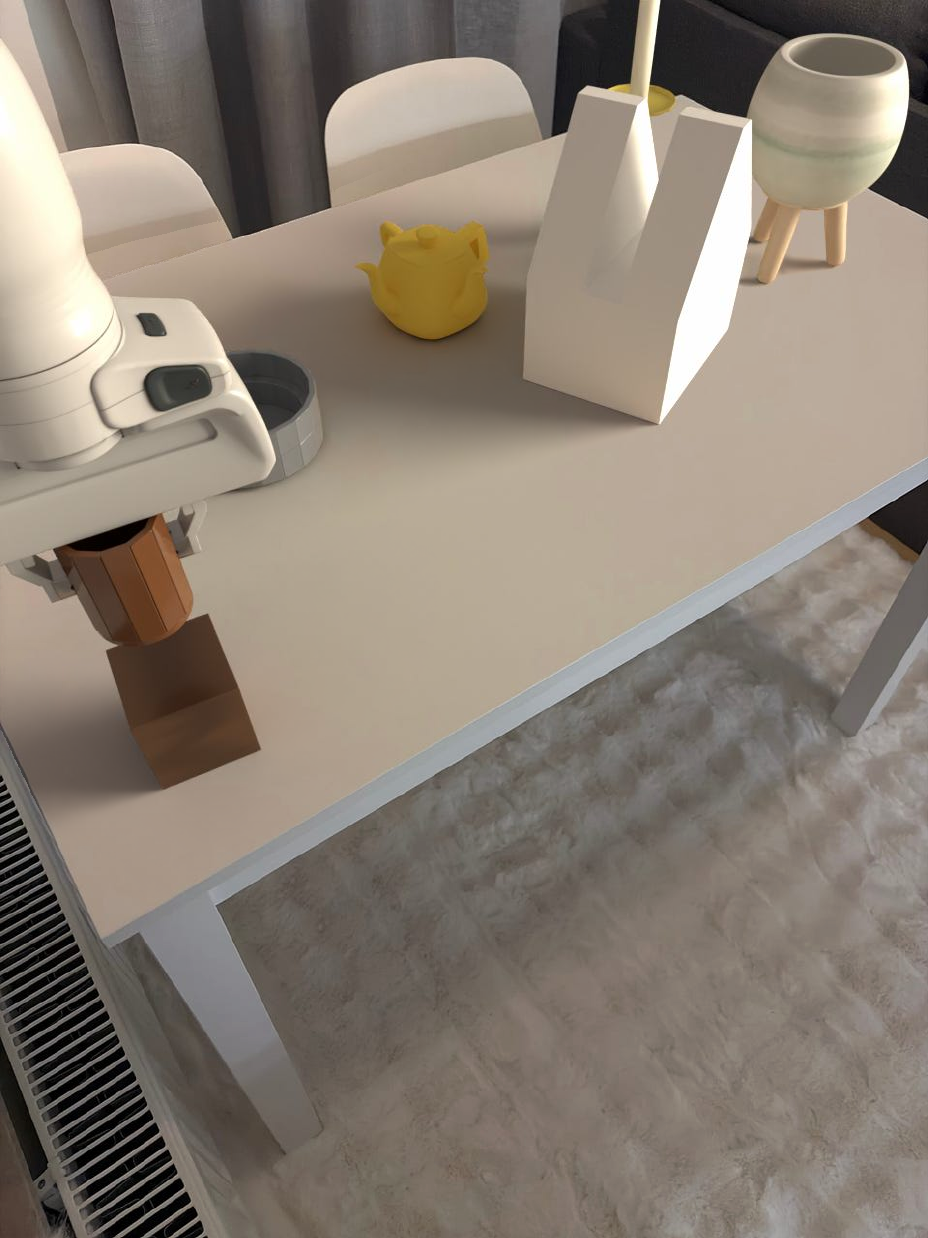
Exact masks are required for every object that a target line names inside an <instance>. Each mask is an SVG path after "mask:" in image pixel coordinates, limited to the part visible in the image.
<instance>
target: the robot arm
mask: <svg viewBox="0 0 928 1238" xmlns="http://www.w3.org/2000/svg"><path fill="white" fill-rule="evenodd" d="M83 230H84V228H83V218H82V213H81V210H80V206H79V203H78V200H77V197H76V194H75V191H74V188H73V186H72V184H71V181H70V178H69V175H68V173H67V170H66V167H65V165H64V162H63V160H62V157H61V154H60V152H59V149H58V146H57V144H56V142H55V139H54V137H53V134H52V132H51V130H50V127H49V125H48V123H47V121H46V118H45V116H44V114H43V112H42V109H41V107H40V105H39V103H38V101H37V98H36V96H35V94H34V92H33V90H32V88H31V86H30V84H29V83H28V80H27V78H26V76H25V75H24V73H23V71H22V69H21V67H20V65H19V63H18V62H17V61H16V59H15V57H14V55H13V54H12V52H11V50H10V49H9V48H8V46H7V44H6V43H5V42H4V40H3V39H2V38H1V37H0V567H2V566H5V567H6V569H7V570H8V572H9V573H10V575H12V576H15V577H16V578H19V579H21V580H23V581H25V582H28V583H29V584H33V585H35V586H37V587H42V589H43V590H44V592H45V593H46V596H47V597H48V599H49V601H50V603H52V604H54V603H57V602H60V601H63V600H66V599H68V598H72V597H74V596H77V594H76V592H75V590H74V588H73V587H72V584H71V582H70V581H69V579H68V577H67V576H66V574H65V572H64V570H63V568H62V566H61V564H60V563H59V561H58V559H57V558H56V559H53V560H50V561H48V560H46V559H45V558H42V557H41V556H39V554H42V553H45V552H48V551H51V550H53V549H54V548H57V547H60V546H63V545H66V544H69V543H72V542H75V541H78V540H81V539H84V538H88V537H91V536H94V535H97V534H100V533H103V532H106V531H109V530H112V529H115V528H118V527H121V526H124V525H127V524H130V523H133V522H136V521H139V520H142V519H145V518H148V517H151V516H154V515H157V514H160V513H162V514H163V513H165V512H169V511H172V510H175V509H178V508H179V512H178V514H177V518H175V519H173V520H171V521H168V522H166V525H167V528H168V530H169V533H170V535H171V538H172V543H173V545H174V548H175V550H176V551H177V556H178V558H179V559H180V560H182V559H184V558H187V557H190V556H194V555H196V554H199V553H202V552H203V550H202V547H201V544H200V542H199V538H198V536H197V534H199V531H200V529H201V526H202V524H203V522H204V519H205V517H206V513H207V512H208V505H207V503H206V499H208V498H212V497H214V496H218V495H221V494H224V493H227V492H230V491H233V490H237V489H236V488H238V489H239V487H242V486H245V485H248V484H252V483H255V482H258V481H261V480H263V479H265V478H266V477H267V476H268V475H269V473H270V472H271V470H272V468H273V466H274V464H275V462H276V457H275V453H274V449H273V446H272V443H271V440H270V437H269V434H268V431H267V429H266V427H265V424H264V422H263V420H262V417H261V415H260V413H259V411H258V409H257V408H256V406H255V404H254V402H253V400H252V398H251V396H250V394H249V392H248V390H247V388H246V387H245V385H244V383H243V382H242V380H241V378H240V377H239V375H238V373H237V372H236V370H235V368H234V367H233V365H232V364H231V362H230V361H229V359H228V358H227V357H226V354H225V352H226V351H225V350H224V347H223V344H222V342H221V340H220V338H219V336H218V334H217V332H216V331H215V329H214V328H213V325H212V324H211V323H210V322H209V320H208V319H207V318H206V316H205V315H204V314H203V312H202V311H201V310H200V309H199V308H198V307H197V306H196V304H194V302H193V301H191V300H189V299H185V298H178V297H145V296H144V297H143V296H125V295H124V296H123V295H121V296H119V295H110V293H109V290H108V288H107V287H106V285H105V283H104V282H103V281H102V279H101V278H100V277H99V276H98V274H97V272H96V271H95V270H94V268H93V266H92V265H91V263H90V261H89V259H88V256H87V252H86V248H85V243H84V231H83Z"/></svg>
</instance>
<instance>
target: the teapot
mask: <svg viewBox="0 0 928 1238" xmlns="http://www.w3.org/2000/svg"><path fill="white" fill-rule="evenodd" d="M379 235H380V239H381V240H380V241H381V242H382V246H383V251H382V254H381V256H380V259H379V262H378V265H376V264H374V263H371V262H360V263H357V264H355V265H354V268H355V269H358V270H361V271H363V272H364V273H365V274H366V276H367V278H368V281H369V287H370V294H371V298H372V300H373V302H374V305H376V307H377V308H378V309H379V310H380V311H381V312H382V313H383V314H384V315H385V317H386V318H387V319H388V320H389V321H390V322H391V324H393V325H394V326H395V327H397V328H398V329H399V330H401V331H403V332H405V333H407V334H409V335H411V336H414V337H417V338H420V339H425V340H438V339H442V338H446V337H448V336H451V335H454V334H456V333H458V332H461V331H462V330H463V329H466V328H467V327H469V326H471V325H472V324H473V323H475V322H476V321H477V320H478V319H479V318H480V317H481V316H482V314H483V313H484V311H485V309H486V307H487V304H488V290H487V285H486V280H485V277H484V274H486V273H489V268H487V267H485V265H486V263H488V260H489V259H490V258H491V256H490V255H491V254H490V250H489V245H488V239H487V234H486V230H485V226H484V225H483V224H481V223H479V222H477V221H474V220H473V221H470V222H469V223H467V224H466V225H464V226H462V227H461V228H460V229H458V230H456V231H452V230H450V229H448V228H445V227H443V226H440V225H437V224H422V225H421V224H420V225H417V226H414V227H413V228H410V229H407V230H405V231H404V230H403V229H402V228H401V227H399V226H398V225H397V224H395V223H394V222H391V221H384V222H382V223H381V224H380V226H379Z"/></svg>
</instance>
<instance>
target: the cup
mask: <svg viewBox="0 0 928 1238" xmlns="http://www.w3.org/2000/svg"><path fill="white" fill-rule="evenodd" d="M166 523H167V522H166V520H165V517H164V515H163V513H160V514H157V515H154V516H151V517H148V518H145V519H142V520H139V521H136V522H133V523H130V524H127V525H124V526H121V527H118V528H115V529H112V530H109V531H106V532H103V533H100V534H97V535H94V536H91V537H88V538H84V539H81V540H78V541H75V542H72V543H69V544H66V545H63V546H60V547H57V548H54V549H52V551H53V553H54V555H55V557H56V559H58V561H59V563H60V564H61V566H62V568H63V570H64V572H65V574H66V576H67V577H68V579H69V581H70V582H71V584H72V587H73V588H74V590H75V592H76V594H77V595H76V596H77V598H78V600H79V602H80V604H81V606H82V608H83V610H84V611H85V613H86V615H87V617H88V619H89V621H90V623H91V624H92V626H93V628H94V630H95V631H96V632H97V633H98V634H99V636H101V637H102V639H104V640H105V641H107V642H109V643H110V644H114V645H115V646H125V647H139V646H146V645H150V644H153V643H156V642H159V641H161V640H163V639H165V638H167V637H169V636H170V635H172V634H173V633H175V632H176V631H177V630H178V629H179V628H180V627H181V626H182V625H183V624H184V623H185V622H186V621H188V619H189V618H190V616H191V613H192V611H193V608H194V607H193V606H194V594H193V591H192V588H191V584H190V583H189V580H188V577H187V575H186V572H185V570H184V567H183V564H182V561H181V559H179V558H178V556H177V551H176V550H175V548H174V545H173V543H172V538H171V535H170V533H169V530H168V528H167V525H166Z"/></svg>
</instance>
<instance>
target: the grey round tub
mask: <svg viewBox="0 0 928 1238" xmlns="http://www.w3.org/2000/svg"><path fill="white" fill-rule="evenodd" d="M225 354H226V357H227V358H228V359H229V361H230V362H231V364H232V365H233V367H234V368H235V370H236V372H237V373H238V375H239V377H240V378H241V380H242V382H243V383H244V385H245V387H246V388H247V390H248V392H249V394H250V396H251V398H252V400H253V402H254V404H255V406H256V408H257V409H258V411H259V413H260V415H261V417H262V420H263V422H264V424H265V427H266V429H267V431H268V434H269V437H270V440H271V443H272V446H273V449H274V453H275V457H276V462H275V464H274V466H273V468H272V470H271V472H270V473H269V475H268V476H267V477H266V478H265V479H263V480H261V481H258V482H255V483H252V484H248V485H245V486H242V487H239V488H236V489H235V490H238V489H240V490H241V489H248V488H249V489H250V488H257V487H264V486H268V485H270V484H273V483H277V482H278V481H282V480H285V479H287V478H289V477H290V476H292V475H294V474H296V473H297V472H299V471H300V470H302V469H303V468H305V467H306V466H307V465H308V464H309V463H310V462H311V461H312V460H313V459H314V458H315V457H316V456H317V454H318V452H319V450H320V447H321V445H322V442H323V441H324V426H323V419H322V413H321V408H320V403H319V395H318V390H317V386H316V380H315V377H314V375H313V374H312V372H311V371H310V370H309V368H308V366H307V365H306V364H304V363H303V362H301V361H299V360H298V359H296V358H295V357H293V356H291V355H288V354H285V353H283V352H280V351H276V350H269V349H256V348H245V349H236V350H228V351H225Z"/></svg>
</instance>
